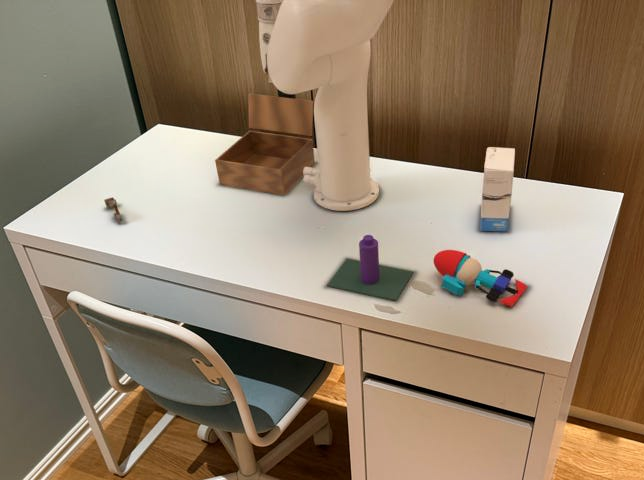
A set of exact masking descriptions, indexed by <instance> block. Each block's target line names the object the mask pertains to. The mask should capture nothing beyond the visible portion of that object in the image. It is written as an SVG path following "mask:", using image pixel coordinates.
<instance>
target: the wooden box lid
mask: <svg viewBox="0 0 644 480" xmlns="http://www.w3.org/2000/svg"><path fill="white" fill-rule="evenodd" d="M247 100H248V101H247V103H248V109H247V110H248V129H256V130H263V131H271V132H276V133H277V132H278V133H285V134H292V135H293V134H294V135H300V136H301V135H302V136H309V137H313V121H314V100H311V99H300V98H296V99H293V98H284V97H278V96H274V95H266V94H258V93H247Z"/></svg>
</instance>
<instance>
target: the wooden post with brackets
mask: <svg viewBox="0 0 644 480" xmlns="http://www.w3.org/2000/svg"><path fill="white" fill-rule="evenodd" d="M103 201H104V204H105V206H106V209H107V210H108V209H111V208H113V209H114V213H113V215H114V218H115V219H116V220H118V222H120V223H121V222H123V218H122V214H121V212H120V211H119V208H118V202H117V199H115V197H113V196H112V197H109V198H105V199H103Z"/></svg>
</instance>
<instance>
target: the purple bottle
mask: <svg viewBox="0 0 644 480" xmlns="http://www.w3.org/2000/svg"><path fill="white" fill-rule="evenodd" d="M358 248H359V253H358V254H359V261H360V269H361V281H362V282H363V283H365V284H369V285H371V284H375V283H377V282H378V281H379V279H380V277H379V265H380V256H379V254H380V253H379V240H378V239H377V238H374V236H373V235H372V234H365V235H363V236H362V239H360V241H359V242H358Z"/></svg>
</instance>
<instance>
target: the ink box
mask: <svg viewBox="0 0 644 480" xmlns="http://www.w3.org/2000/svg"><path fill="white" fill-rule="evenodd" d="M515 149H516V148H513V147H497V146H488V147H487V148H486V152H485V161H484V165H483V168H484V169H483V170H484V171H483V179H482V189H481V191H482V192H481V203H480V204H481V205H480V222H479V223H480V225H479V231H482V232H508V229H509V220H510V212H511V211H510V210H511V205H512V204H511V203H512V194H513V183H514V173H515V172H514V171H515V156H516V150H515Z"/></svg>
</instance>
